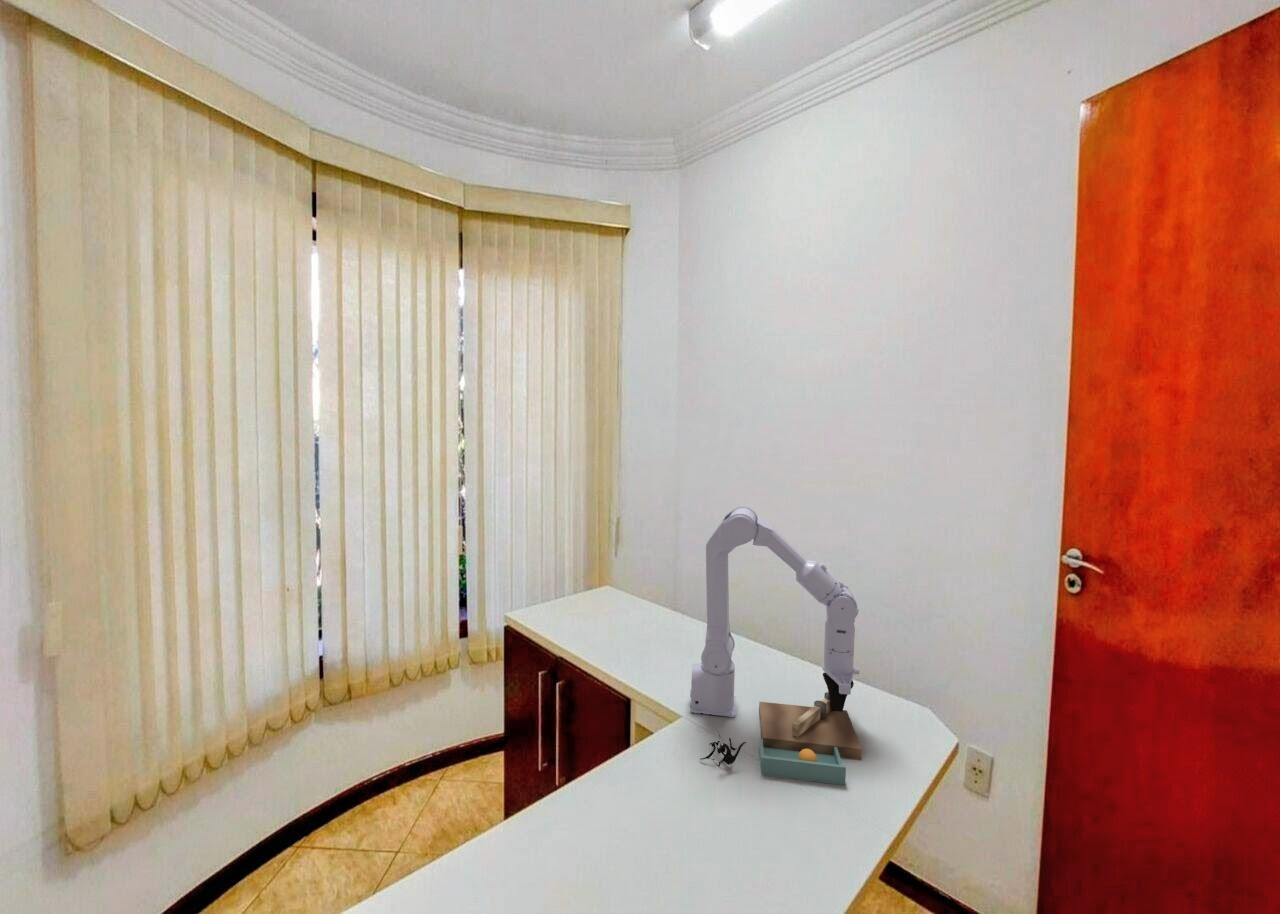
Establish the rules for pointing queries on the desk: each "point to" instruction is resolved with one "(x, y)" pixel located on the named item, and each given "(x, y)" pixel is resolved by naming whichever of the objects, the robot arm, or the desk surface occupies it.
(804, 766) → the teal shallow crate
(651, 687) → the desk surface
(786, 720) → the board
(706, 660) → the robot arm
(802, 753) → the ball
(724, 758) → the creature
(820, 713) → the lever
